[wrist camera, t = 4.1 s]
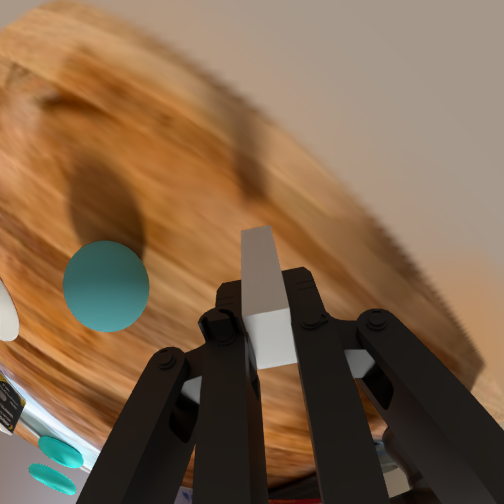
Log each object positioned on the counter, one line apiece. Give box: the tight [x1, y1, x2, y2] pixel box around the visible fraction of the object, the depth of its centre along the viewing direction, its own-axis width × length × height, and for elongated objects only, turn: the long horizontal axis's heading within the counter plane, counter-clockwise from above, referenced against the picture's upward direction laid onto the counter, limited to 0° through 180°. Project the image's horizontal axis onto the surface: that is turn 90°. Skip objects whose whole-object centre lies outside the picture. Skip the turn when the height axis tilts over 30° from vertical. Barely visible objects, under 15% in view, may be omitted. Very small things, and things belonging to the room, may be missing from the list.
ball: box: [63, 240, 149, 332], centre depth 16 cm, size 6×6×6 cm
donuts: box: [29, 436, 84, 495], centre depth 32 cm, size 10×10×10 cm
